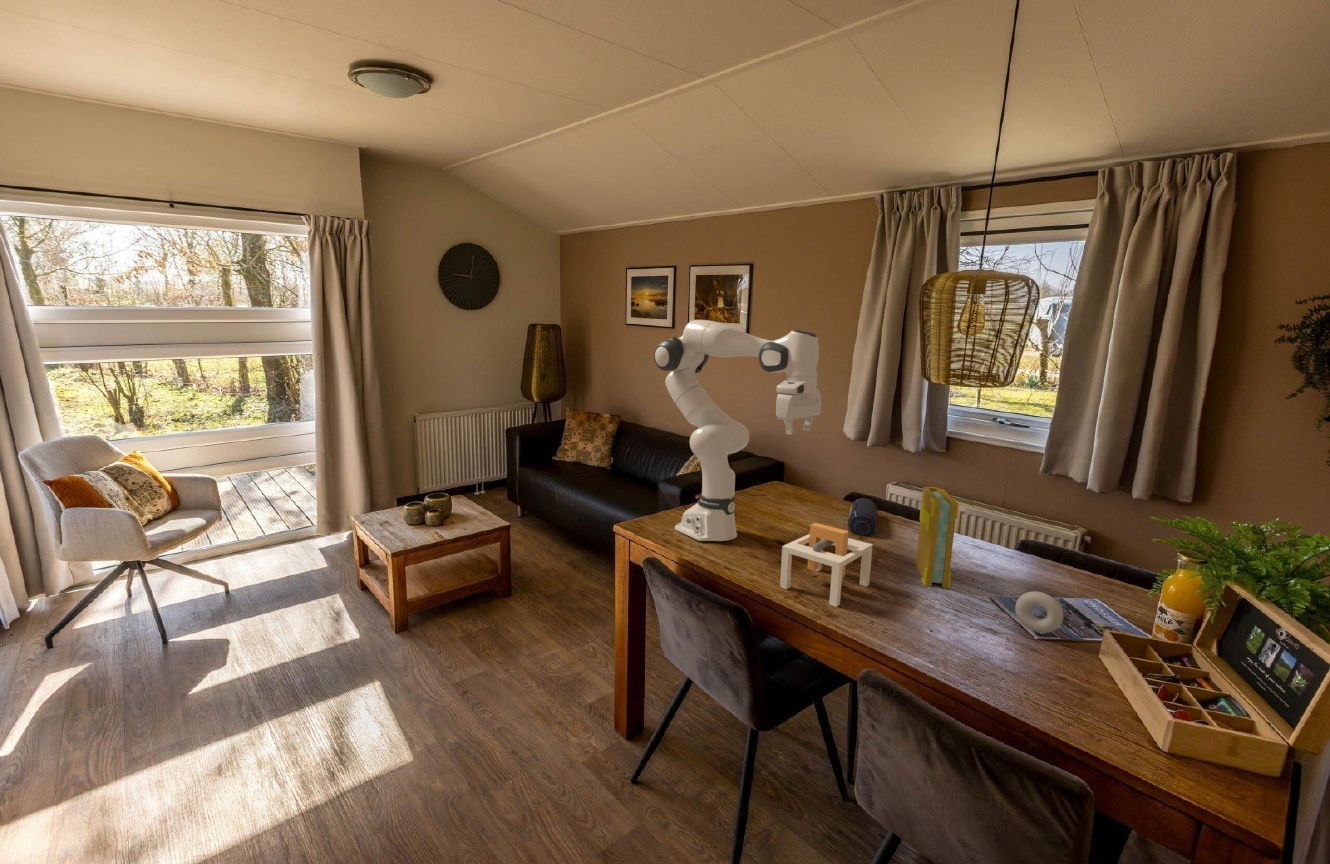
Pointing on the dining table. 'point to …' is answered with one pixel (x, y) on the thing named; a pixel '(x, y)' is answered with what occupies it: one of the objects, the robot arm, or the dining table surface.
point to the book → (936, 536)
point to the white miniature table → (827, 562)
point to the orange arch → (832, 535)
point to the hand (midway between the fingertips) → (798, 432)
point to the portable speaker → (863, 517)
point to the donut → (1034, 623)
